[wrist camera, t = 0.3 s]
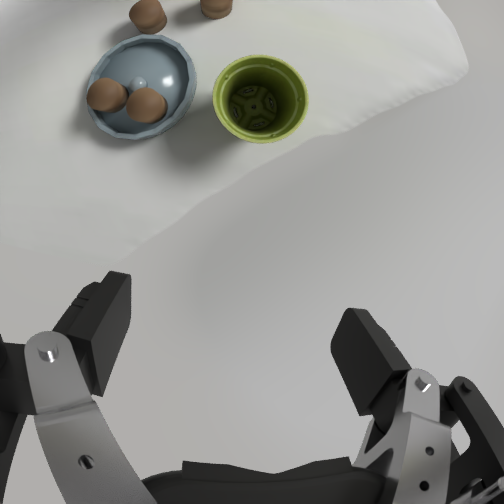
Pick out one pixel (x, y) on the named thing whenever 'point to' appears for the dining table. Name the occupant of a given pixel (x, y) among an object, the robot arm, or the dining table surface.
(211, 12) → the pile bead
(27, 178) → the dining table surface
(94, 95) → the seated bead
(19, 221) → the dining table surface
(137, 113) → the seated bead
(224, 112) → the plant pot
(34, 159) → the dining table surface
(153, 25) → the brown rounded dome
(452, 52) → the dining table surface
